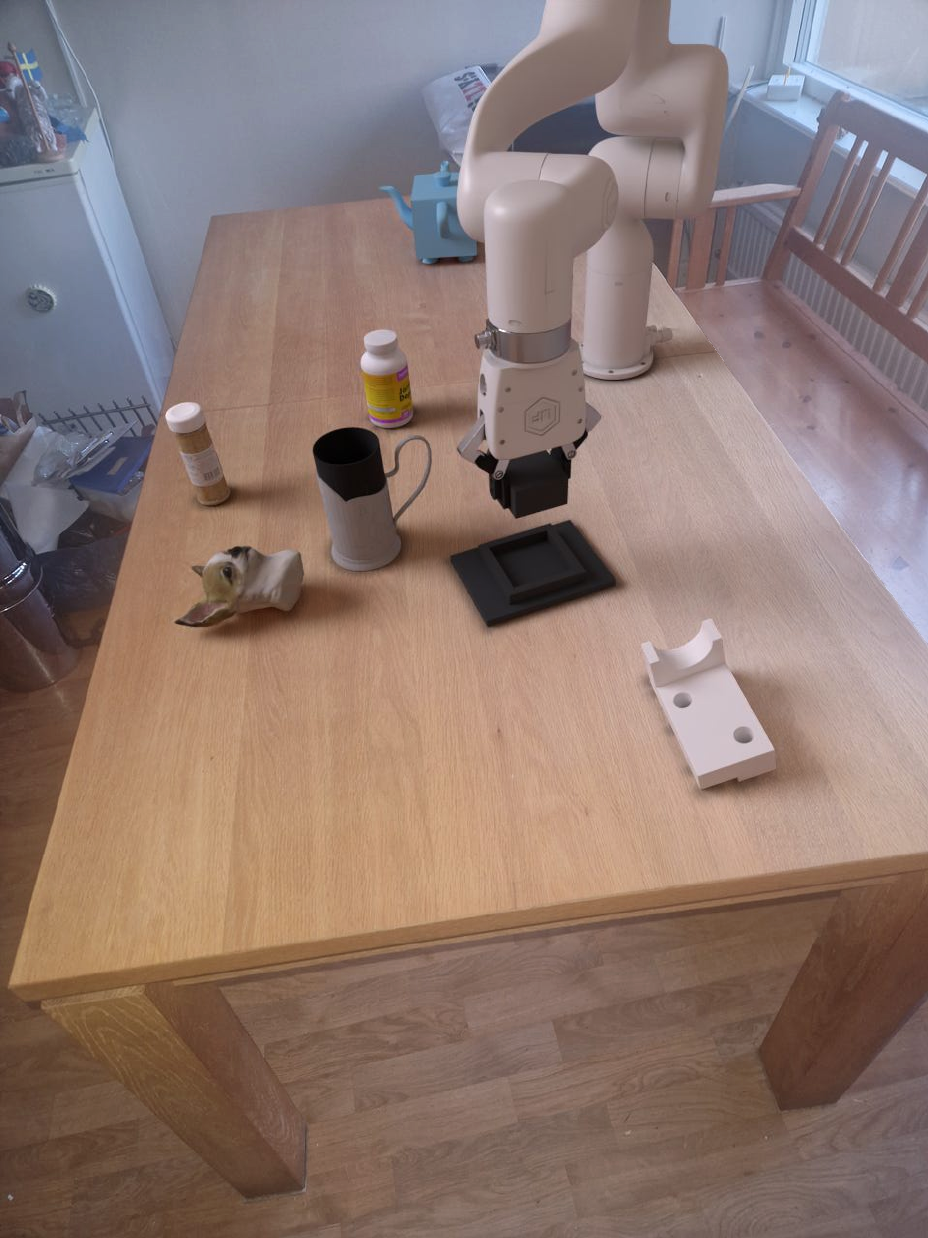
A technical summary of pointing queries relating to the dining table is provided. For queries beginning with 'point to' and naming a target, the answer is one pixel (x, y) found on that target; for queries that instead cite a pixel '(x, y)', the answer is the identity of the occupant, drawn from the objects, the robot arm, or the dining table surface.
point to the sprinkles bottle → (198, 452)
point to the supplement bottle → (386, 380)
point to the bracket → (708, 710)
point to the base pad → (530, 571)
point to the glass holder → (360, 497)
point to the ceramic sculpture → (245, 584)
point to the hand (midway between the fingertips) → (530, 491)
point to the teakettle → (435, 217)
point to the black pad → (536, 484)
